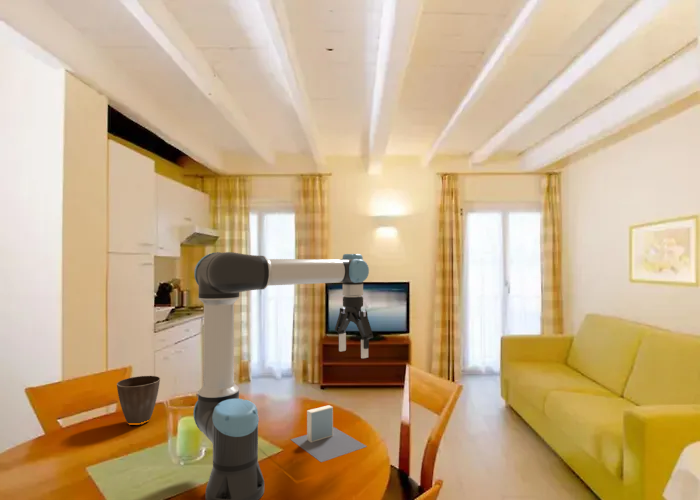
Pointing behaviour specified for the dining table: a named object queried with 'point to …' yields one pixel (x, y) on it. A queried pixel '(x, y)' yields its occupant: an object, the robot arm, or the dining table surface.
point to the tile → (319, 423)
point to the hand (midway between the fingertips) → (353, 354)
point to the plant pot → (138, 397)
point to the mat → (329, 445)
